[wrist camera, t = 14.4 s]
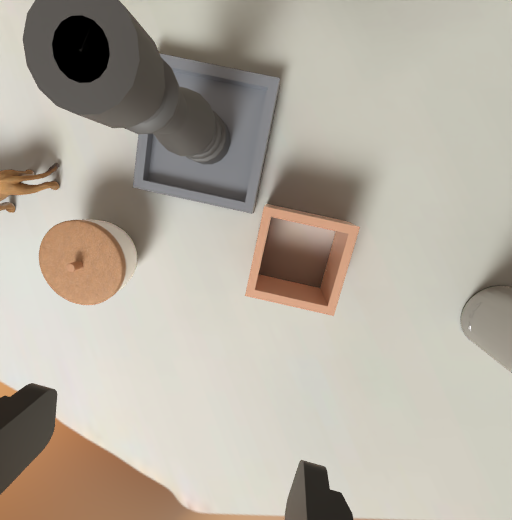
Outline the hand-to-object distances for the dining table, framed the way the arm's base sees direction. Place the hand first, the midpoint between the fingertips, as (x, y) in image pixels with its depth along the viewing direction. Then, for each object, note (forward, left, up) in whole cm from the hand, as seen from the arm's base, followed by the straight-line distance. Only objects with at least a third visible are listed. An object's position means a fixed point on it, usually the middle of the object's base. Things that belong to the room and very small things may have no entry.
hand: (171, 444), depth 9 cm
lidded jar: (+20, +5, -34) cm, 40 cm away
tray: (+9, -13, -34) cm, 37 cm away
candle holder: (+9, -13, -33) cm, 36 cm away
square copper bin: (-6, -1, -34) cm, 34 cm away
